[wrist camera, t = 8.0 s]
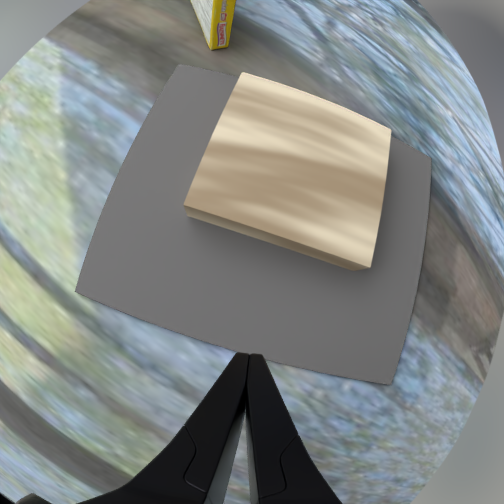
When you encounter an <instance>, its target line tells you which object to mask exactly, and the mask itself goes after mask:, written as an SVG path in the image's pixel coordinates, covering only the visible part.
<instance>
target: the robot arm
mask: <svg viewBox="0 0 504 504" xmlns="http://www.w3.org/2000/svg"><path fill="white" fill-rule="evenodd" d="M245 409H246V413H245ZM245 415H246V437H247V454H248V470H249V486H250V501H251V504H342V502H341V501H340V500H339V499H338V497H337V496H336V495H335V493H334V492H333V491H332V489H331V488H330V486H329V485H328V483H327V482H326V481H325V479H324V478H323V476H322V475H321V473H320V472H319V471H318V469H317V467H316V466H315V464H314V463H313V461H312V459H311V458H310V456H309V454H308V452H307V450H306V448H305V446H304V445H303V442H302V440H301V438H300V436H299V435H298V432H297V430H296V428H295V425H294V423H293V421H292V419H291V417H290V415H289V412H288V410H287V408H286V406H285V404H284V401H283V399H282V397H281V395H280V393H279V390H278V388H277V386H276V384H275V381H274V379H273V377H272V375H271V372H270V370H269V368H268V365H267V363H266V361H265V359H264V356H263V355H262V354H256V353H251V354H250V356H249V354H248V353H242V352H237V353H236V354H235V355H234V357H233V358H232V360H231V361H230V362H229V364H228V365H227V367H226V368H225V370H224V371H223V372H222V374H221V375H220V376H219V378H218V379H217V381H216V382H215V383H214V385H213V386H212V388H211V389H210V390H209V392H208V393H207V394H206V396H205V397H204V399H203V400H202V401H201V403H200V404H199V405H198V407H197V408H196V409H195V411H194V412H193V413H192V415H191V416H190V417H189V419H188V420H187V421H186V423H185V424H184V425H185V426H183V427H182V428H181V429H180V430H179V432H178V433H177V434H176V436H175V437H174V438H173V439H172V440H171V442H170V443H169V444H168V445H167V446H166V447H165V448H164V449H163V450H162V451H161V452H160V453H159V454H158V455H157V456H156V457H155V458H154V459H153V460H152V461H151V462H150V463H149V464H148V465H147V466H146V467H145V468H144V469H142V470H141V471H140V472H139V473H138V474H137V475H136V476H135V477H134V478H133V479H131V480H130V481H129V482H128V483H126V484H125V485H123V486H122V487H120V488H118V489H116V490H113V491H111V492H108V493H106V494H103V495H100V496H98V497H95V498H92V499H89V500H86V501H83V502H80V503H77V504H223V502H224V498H225V494H226V490H227V486H228V482H229V478H230V474H231V470H232V466H233V462H234V458H235V454H236V450H237V446H238V442H239V438H240V433H241V429H242V425H243V421H244V416H245ZM0 504H52V503H50V502H48V501H46V500H44V499H43V498H41V497H39V496H37V495H36V494H34V493H31V494H29V495H27V496H25V497H23V498H21V499H20V500H19V501H17V502H16V503H15V502H13V501H12V500H10V499H9V498H7V497H6V496H5V495H3V494H2V493H0Z"/></svg>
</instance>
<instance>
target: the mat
mask: <svg viewBox="0 0 504 504" xmlns="http://www.w3.org/2000/svg"><path fill="white" fill-rule="evenodd" d="M238 79H239V77H236V76H232V75H228V74H224V73H220V72H216V71H212V70H207V69H203V68H198V67H193V66H188V65H183V64H179V65H178V66H177V68H176V69H175V71H174V72H173V74H172V75H171V77H170V78H169V80H168V82H167V83H166V85H165V86H164V88H163V90H162V91H161V93H160V95H159V96H158V98H157V100H156V101H155V103H154V105H153V107H152V108H151V110H150V112H149V114H148V115H147V117H146V119H145V121H144V123H143V125H142V126H141V128H140V130H139V132H138V134H137V136H136V138H135V140H134V142H133V144H132V146H131V148H130V150H129V152H128V154H127V156H126V158H125V160H124V162H123V164H122V166H121V168H120V170H119V173H118V175H117V177H116V179H115V182H114V184H113V186H112V188H111V191H110V193H109V195H108V198H107V200H106V203H105V205H104V208H103V210H102V213H101V215H100V218H99V220H98V223H97V226H96V228H95V231H94V234H93V236H92V239H91V242H90V245H89V248H88V251H87V254H86V257H85V260H84V263H83V266H82V269H81V273H80V276H79V279H78V283H77V286H76V290H75V292H77V293H79V294H81V295H83V296H86V297H88V298H90V299H92V300H95V301H97V302H99V303H102V304H104V305H106V306H109V307H111V308H114V309H116V310H119V311H121V312H124V313H126V314H129V315H131V316H134V317H136V318H139V319H141V320H144V321H147V322H149V323H152V324H155V325H158V326H160V327H163V328H166V329H169V330H172V331H174V332H177V333H180V334H183V335H186V336H189V337H192V338H195V339H198V340H201V341H204V342H208V343H211V344H214V345H217V346H220V347H224V348H227V349H231V350H234V351H237V352H242V353H248V354H249V355H250V354H251V353H256V354H262V355H263V356H264V359H266V360H270V361H274V362H278V363H282V364H286V365H290V366H295V367H299V368H303V369H308V370H312V371H317V372H321V373H326V374H331V375H336V376H341V377H346V378H352V379H357V380H363V381H369V382H375V383H381V384H388V385H391V383H392V380H393V377H394V374H395V371H396V368H397V365H398V362H399V358H400V355H401V352H402V348H403V345H404V341H405V338H406V334H407V330H408V326H409V322H410V318H411V314H412V310H413V305H414V301H415V296H416V291H417V286H418V281H419V276H420V270H421V264H422V258H423V252H424V245H425V237H426V229H427V220H428V210H429V198H430V183H431V158H430V157H428V156H427V155H425V154H423V153H421V152H420V151H418V150H416V149H414V148H413V147H411V146H409V145H407V144H405V143H404V142H402V141H400V140H398V139H396V138H394V137H392V136H391V138H390V149H389V159H388V167H387V175H386V183H385V190H384V197H383V203H382V210H381V216H380V222H379V227H378V233H377V238H376V243H375V248H374V253H373V258H372V262H371V267H370V268H367V269H362V270H357V271H351V270H349V269H346V268H343V267H340V266H337V265H334V264H331V263H328V262H325V261H322V260H319V259H316V258H313V257H310V256H307V255H304V254H302V253H299V252H296V251H293V250H290V249H287V248H284V247H281V246H278V245H275V244H272V243H269V242H266V241H263V240H260V239H257V238H254V237H251V236H248V235H244V234H241V233H238V232H235V231H232V230H229V229H226V228H223V227H220V226H217V225H214V224H211V223H208V222H205V221H202V220H198V219H195V218H192V217H189V216H187V214H186V211H185V208H184V205H183V204H184V202H185V199H186V197H187V194H188V192H189V189H190V187H191V184H192V182H193V179H194V177H195V174H196V172H197V169H198V167H199V165H200V162H201V160H202V157H203V155H204V153H205V150H206V148H207V146H208V143H209V141H210V139H211V137H212V134H213V132H214V130H215V128H216V125H217V123H218V121H219V119H220V117H221V115H222V112H223V110H224V108H225V106H226V104H227V102H228V100H229V98H230V95H231V93H232V91H233V89H234V87H235V85H236V83H237V81H238Z"/></svg>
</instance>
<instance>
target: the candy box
mask: <svg viewBox="0 0 504 504" xmlns="http://www.w3.org/2000/svg"><path fill="white" fill-rule="evenodd" d="M191 3H192V6H193V8H194V11H195V13H196V15H197V18H198V20H199V23H200V25H201V28H202V31H203V33H204V36H205V38H206V41H207V44H208V46H209V48H210V50H214V49H220V48H226V47H228V45H229V39H230V33H231V26H232V21H233V15H234V9H235V3H236V0H191Z"/></svg>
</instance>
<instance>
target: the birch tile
mask: <svg viewBox="0 0 504 504" xmlns="http://www.w3.org/2000/svg"><path fill="white" fill-rule="evenodd" d="M390 138H391V129H389V128H387V127H385V126H383V125H381V124H379V123H377V122H375V121H372V120H370V119H368V118H366V117H364V116H362V115H360V114H357V113H355V112H353V111H351V110H349V109H346V108H344V107H342V106H339V105H337V104H334V103H332V102H330V101H327V100H325V99H322V98H319V97H317V96H314V95H312V94H309V93H306V92H304V91H301V90H298V89H295V88H292V87H289V86H286V85H283V84H280V83H277V82H274V81H271V80H268V79H264V78H261V77H258V76H254V75H251V74H247V73H244V72H242V73H241V75H240V77H239V79H238V81H237V83H236V85H235V87H234V89H233V91H232V93H231V95H230V98H229V100H228V102H227V104H226V106H225V108H224V110H223V112H222V115H221V117H220V119H219V121H218V123H217V125H216V128H215V130H214V132H213V134H212V137H211V139H210V141H209V143H208V146H207V148H206V150H205V153H204V155H203V157H202V160H201V162H200V165H199V167H198V169H197V172H196V174H195V177H194V179H193V182H192V184H191V187H190V189H189V192H188V194H187V197H186V199H185V202H184V204H183V205H184V208H185V211H186V214H187V216H189V217H192V218H195V219H198V220H202V221H205V222H208V223H211V224H214V225H217V226H220V227H223V228H226V229H229V230H232V231H235V232H238V233H241V234H244V235H248V236H251V237H254V238H257V239H260V240H263V241H266V242H269V243H272V244H275V245H278V246H281V247H284V248H287V249H290V250H293V251H296V252H299V253H302V254H304V255H307V256H310V257H313V258H316V259H319V260H322V261H325V262H328V263H331V264H334V265H337V266H340V267H343V268H346V269H349V270H351V271H357V270H362V269H367V268H370V267H371V262H372V258H373V253H374V248H375V243H376V238H377V233H378V227H379V222H380V216H381V210H382V203H383V197H384V190H385V183H386V175H387V167H388V159H389V149H390Z"/></svg>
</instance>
